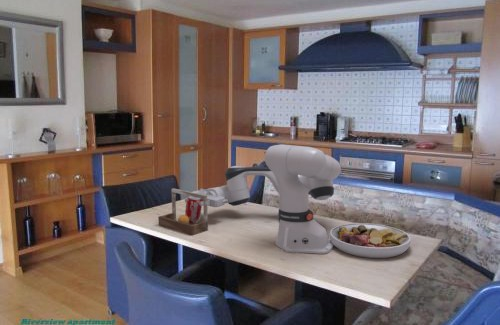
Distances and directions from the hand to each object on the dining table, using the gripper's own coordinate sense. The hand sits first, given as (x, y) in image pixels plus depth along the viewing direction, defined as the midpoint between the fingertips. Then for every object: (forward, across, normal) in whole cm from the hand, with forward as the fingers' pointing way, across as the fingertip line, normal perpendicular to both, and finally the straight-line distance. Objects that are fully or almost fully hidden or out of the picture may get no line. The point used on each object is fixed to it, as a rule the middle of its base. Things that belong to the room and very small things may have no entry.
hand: (192, 202), depth 194 cm
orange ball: (+5, +1, -8) cm, 9 cm away
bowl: (-24, -74, -11) cm, 79 cm away
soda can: (-1, +2, -10) cm, 10 cm away
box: (+7, 0, -10) cm, 12 cm away
